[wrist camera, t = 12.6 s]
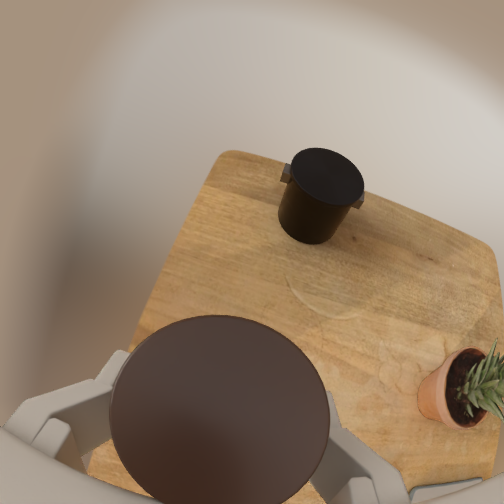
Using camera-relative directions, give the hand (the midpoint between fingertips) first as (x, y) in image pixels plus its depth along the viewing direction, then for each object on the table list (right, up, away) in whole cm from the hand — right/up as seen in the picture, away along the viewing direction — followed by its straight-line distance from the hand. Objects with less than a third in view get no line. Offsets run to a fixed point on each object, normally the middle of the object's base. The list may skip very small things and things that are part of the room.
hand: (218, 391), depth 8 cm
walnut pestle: (-1, -3, +4) cm, 5 cm away
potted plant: (+24, -14, +21) cm, 34 cm away
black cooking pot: (+8, +9, +31) cm, 33 cm away
